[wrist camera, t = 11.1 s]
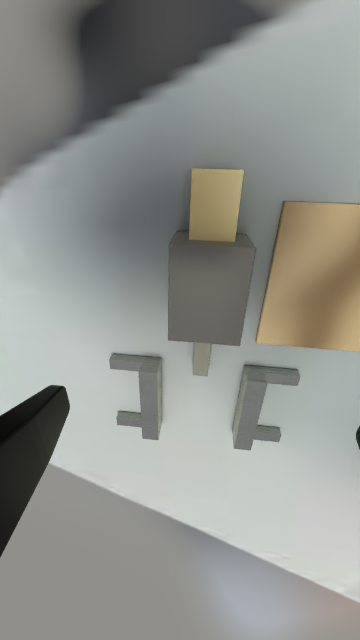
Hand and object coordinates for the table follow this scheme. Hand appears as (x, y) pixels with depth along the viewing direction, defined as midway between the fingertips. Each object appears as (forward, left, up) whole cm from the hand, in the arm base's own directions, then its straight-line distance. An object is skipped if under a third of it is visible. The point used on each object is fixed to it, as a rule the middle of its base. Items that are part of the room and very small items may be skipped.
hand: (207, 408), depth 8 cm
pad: (-9, 0, -12) cm, 15 cm away
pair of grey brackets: (0, +11, -12) cm, 17 cm away
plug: (0, 0, -12) cm, 12 cm away
